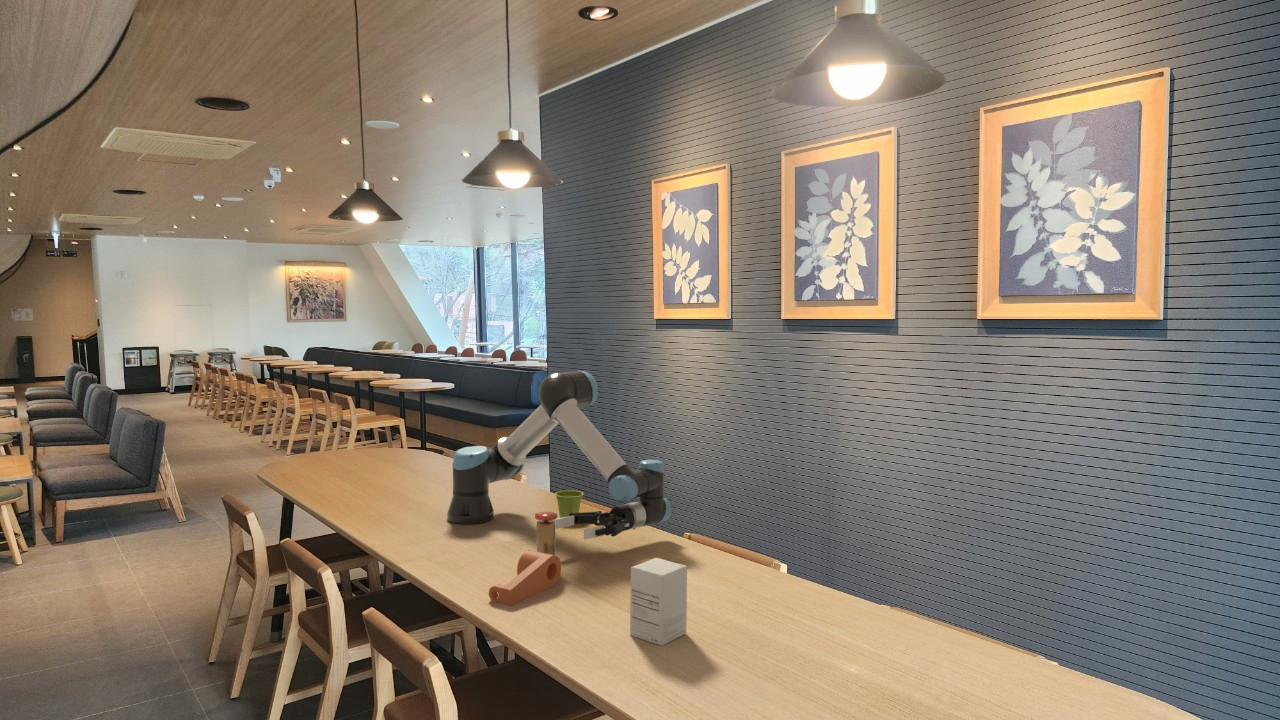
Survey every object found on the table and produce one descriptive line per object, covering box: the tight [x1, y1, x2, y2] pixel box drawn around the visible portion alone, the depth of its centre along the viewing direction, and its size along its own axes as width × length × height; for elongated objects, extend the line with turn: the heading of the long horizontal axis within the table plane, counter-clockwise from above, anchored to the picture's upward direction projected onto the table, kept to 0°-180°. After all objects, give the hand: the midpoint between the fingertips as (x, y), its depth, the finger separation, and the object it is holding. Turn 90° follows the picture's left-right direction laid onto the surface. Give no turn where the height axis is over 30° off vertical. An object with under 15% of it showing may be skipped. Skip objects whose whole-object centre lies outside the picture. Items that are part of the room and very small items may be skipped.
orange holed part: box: [488, 549, 562, 607], centre depth 193 cm, size 20×8×8 cm, turn 150°
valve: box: [534, 511, 558, 556], centre depth 212 cm, size 6×6×14 cm
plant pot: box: [554, 489, 584, 518], centre depth 261 cm, size 9×9×9 cm
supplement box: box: [629, 557, 688, 647], centre depth 167 cm, size 9×9×15 cm
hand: (569, 529), depth 217 cm, fingers open, 13 cm apart
